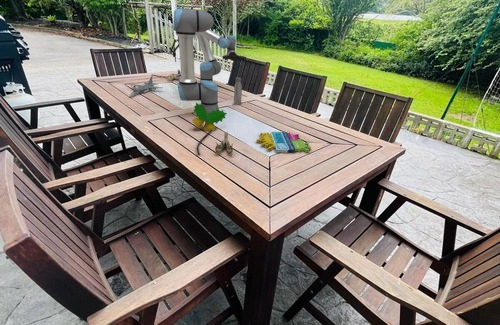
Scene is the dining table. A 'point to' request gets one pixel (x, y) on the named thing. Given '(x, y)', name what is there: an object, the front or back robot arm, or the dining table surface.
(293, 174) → the dining table surface
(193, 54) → the front robot arm
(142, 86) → the airplane
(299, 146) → the packaged fuzzy gloves
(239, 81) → the cap
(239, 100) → the bottle
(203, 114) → the ornament
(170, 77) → the toy
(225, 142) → the jawbone
